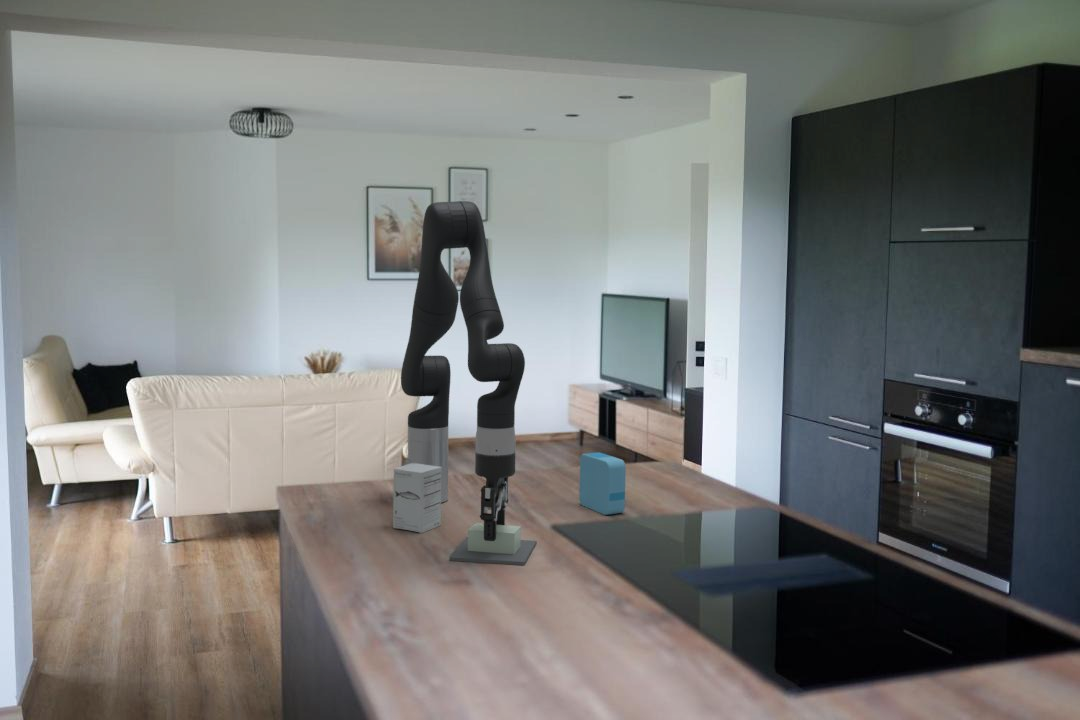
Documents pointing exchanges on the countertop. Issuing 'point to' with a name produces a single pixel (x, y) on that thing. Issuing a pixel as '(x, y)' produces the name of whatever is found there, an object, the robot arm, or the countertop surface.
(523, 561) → the mat
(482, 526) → the box
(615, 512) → the blue box
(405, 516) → the supplement box
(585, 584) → the countertop surface
